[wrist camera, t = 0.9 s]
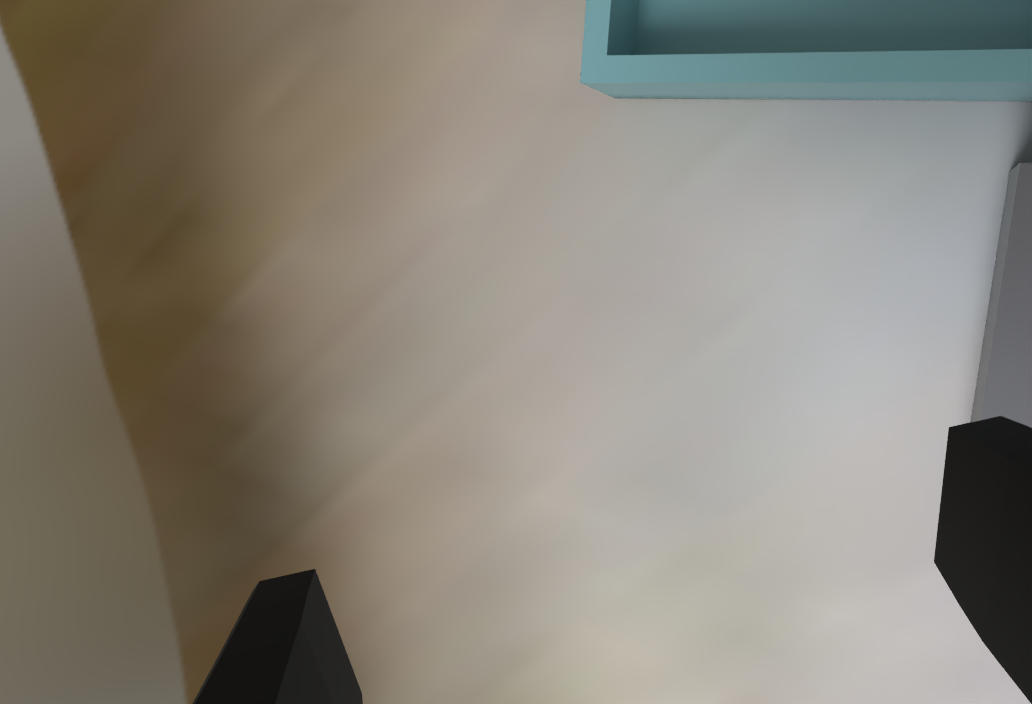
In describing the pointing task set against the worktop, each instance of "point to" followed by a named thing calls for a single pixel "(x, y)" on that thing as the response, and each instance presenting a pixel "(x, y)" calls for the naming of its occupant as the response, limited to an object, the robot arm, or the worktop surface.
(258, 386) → the worktop surface
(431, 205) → the worktop surface
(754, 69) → the parts tray
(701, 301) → the worktop surface
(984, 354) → the grey square dish
